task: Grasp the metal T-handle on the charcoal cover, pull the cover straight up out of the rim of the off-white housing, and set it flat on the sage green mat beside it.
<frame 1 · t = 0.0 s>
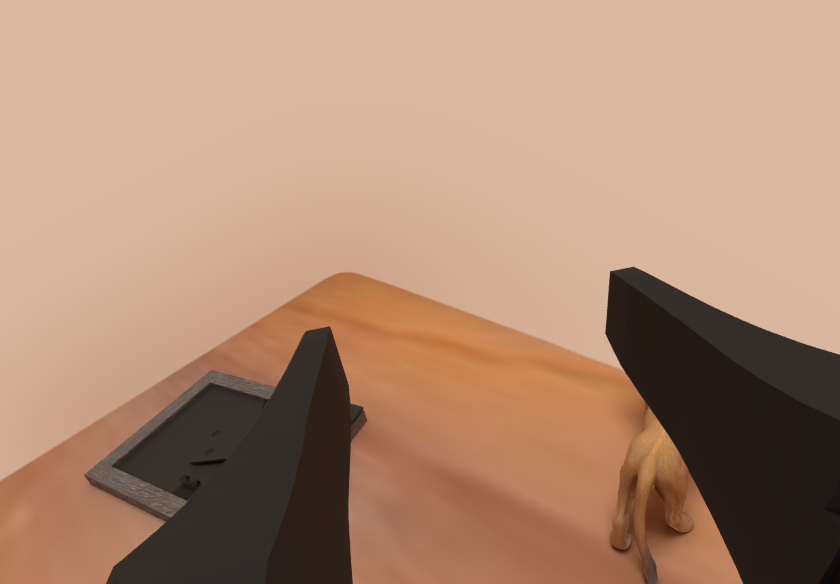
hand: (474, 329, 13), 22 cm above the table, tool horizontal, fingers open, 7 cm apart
lion figurine: (654, 478, 34), on the table
picture frame: (233, 457, 42), on the table
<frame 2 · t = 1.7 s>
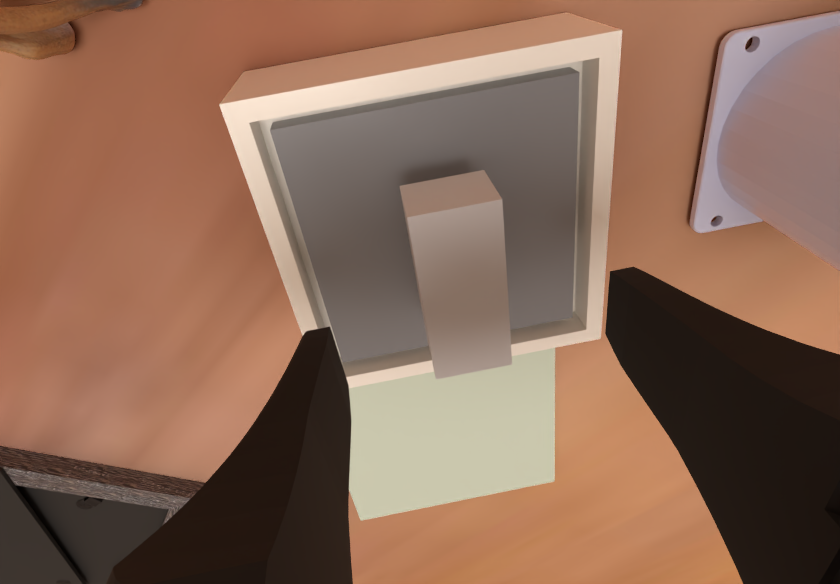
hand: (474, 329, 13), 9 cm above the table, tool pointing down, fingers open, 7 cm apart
grey cover: (440, 227, 18), point 3 cm above the table, touching housing
housing: (428, 192, 21), on the table
picture frame: (54, 544, 31), on the table
sage mat: (445, 430, 28), on the table
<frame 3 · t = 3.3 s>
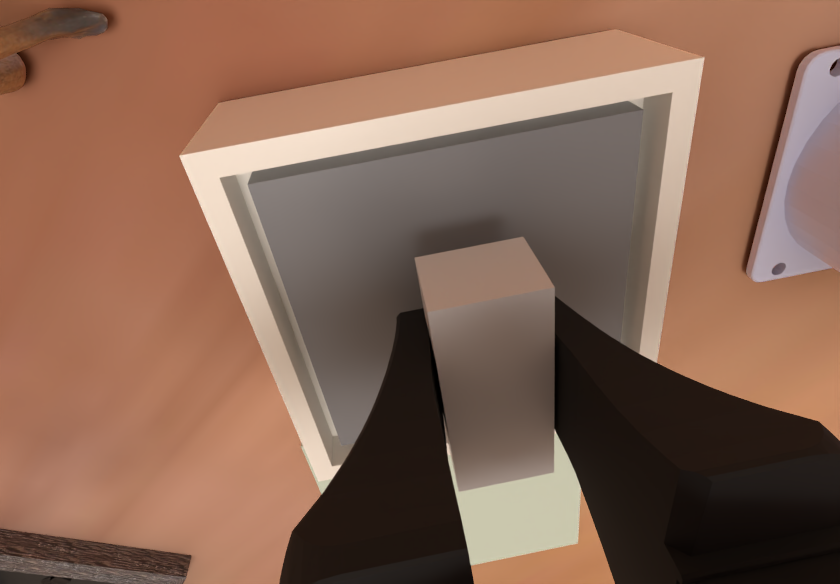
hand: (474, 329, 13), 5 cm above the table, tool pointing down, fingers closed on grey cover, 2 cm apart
grey cover: (460, 290, 15), point 3 cm above the table, touching gripper, housing
housing: (443, 240, 17), on the table
sage mat: (457, 494, 25), on the table
when the fingers open (4 cm above the table, at t = 7.1 s): grey cover stays where it is, resting on sage mat.
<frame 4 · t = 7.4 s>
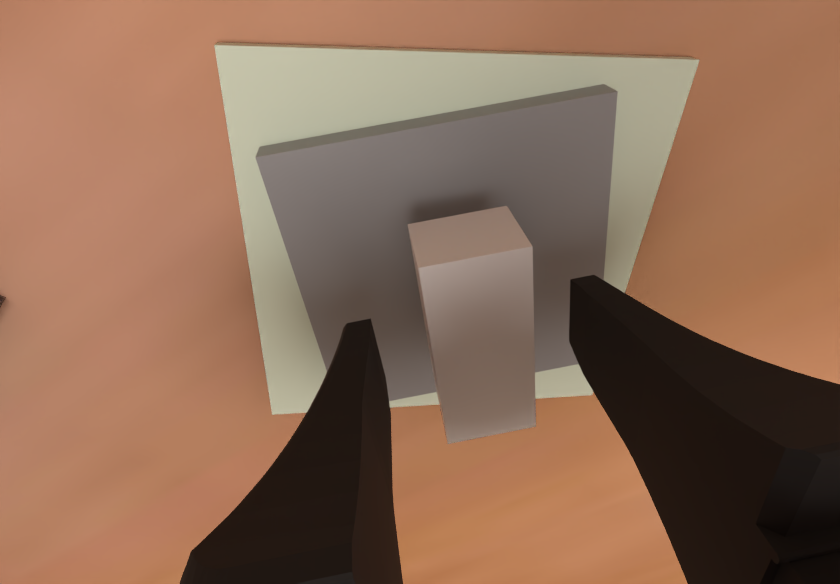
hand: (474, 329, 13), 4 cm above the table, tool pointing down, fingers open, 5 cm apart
grey cover: (451, 262, 16), resting on sage mat
sage mat: (449, 258, 16), on the table
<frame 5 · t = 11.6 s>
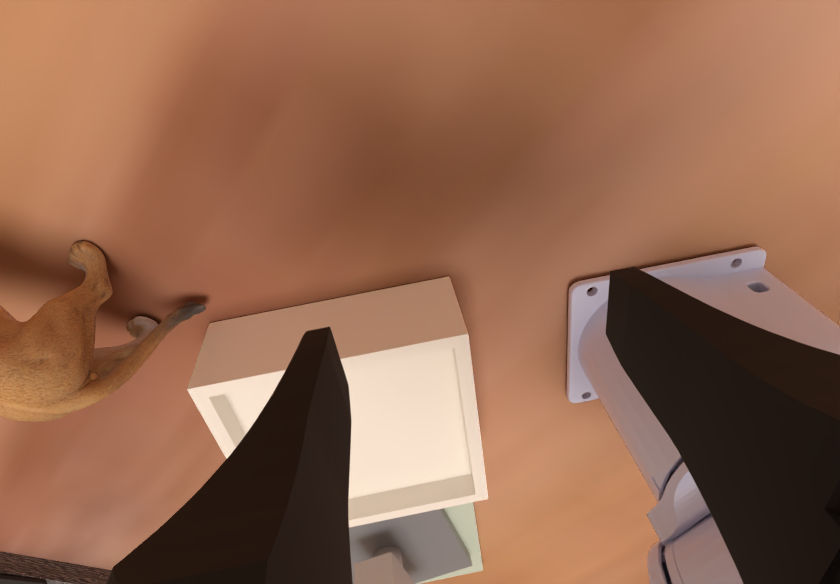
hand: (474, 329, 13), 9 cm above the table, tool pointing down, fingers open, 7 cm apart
grey cover: (386, 542, 34), resting on sage mat
housing: (356, 385, 27), on the table
lion figurine: (3, 269, 21), on the table
sage mat: (386, 537, 35), on the table
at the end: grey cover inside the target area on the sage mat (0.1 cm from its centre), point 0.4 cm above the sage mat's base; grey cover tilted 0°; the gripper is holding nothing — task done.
